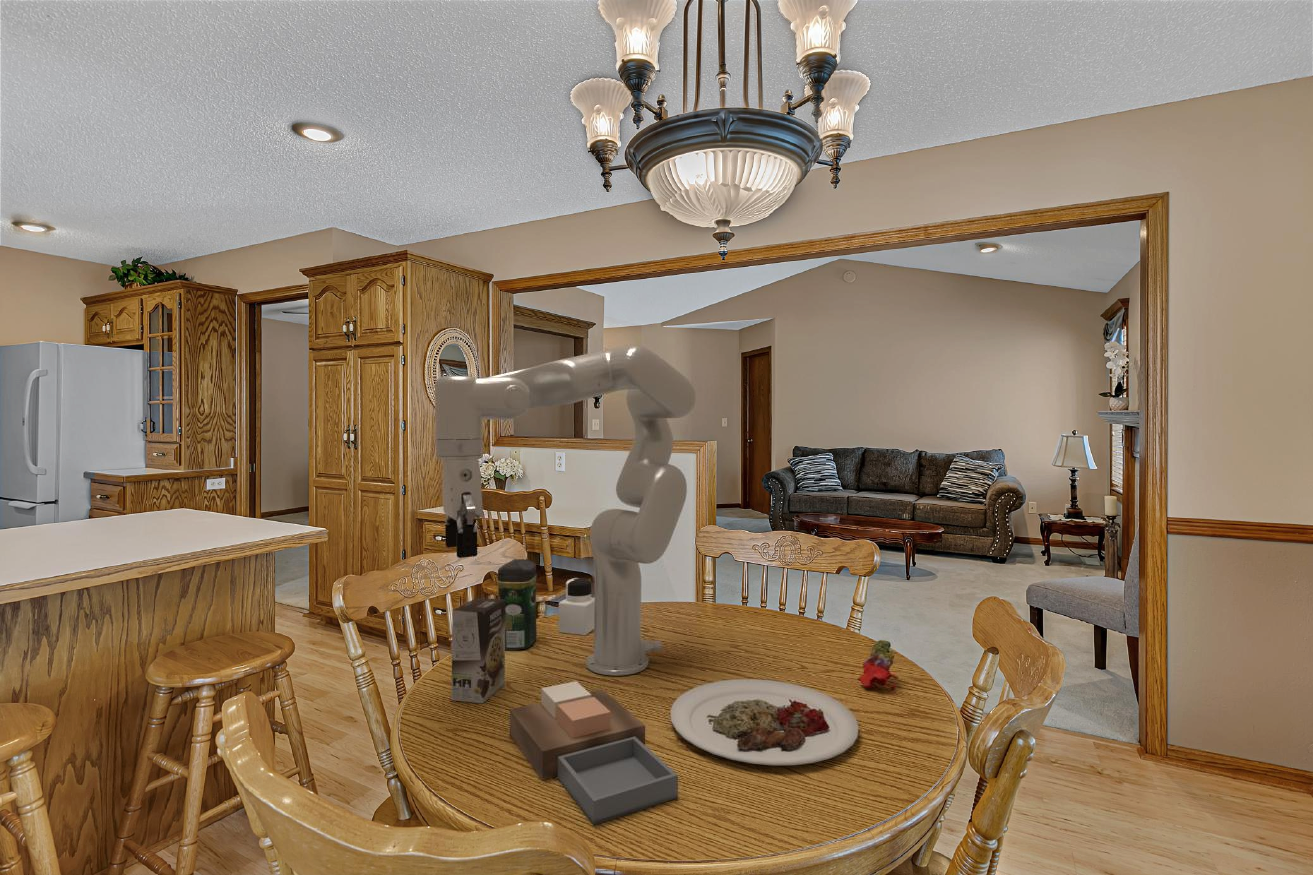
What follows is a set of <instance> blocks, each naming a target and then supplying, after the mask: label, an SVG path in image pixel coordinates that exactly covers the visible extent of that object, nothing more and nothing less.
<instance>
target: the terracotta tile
mask: <svg viewBox="0 0 1313 875" xmlns="http://www.w3.org/2000/svg"><path fill="white" fill-rule="evenodd" d="M557 722H558V723H559V724H560V725H561V726H562V727H563V728H564V729H565V730H566V732H567V733H568V734H569V735H570V736H571V737H572V738H575V737H579V736H583V735H587V734H591V733H595V732H599V731H603V730H607V729H611V712H610V711H609V710H608V709H607V708H606V707H605V706H604V705H602V704H601V703H600V702H599V701H598V700H597V699H596V698H595V697H591V698H586V699H582V700H577V701H573V702H568V703H563V704H559V705H557Z"/></svg>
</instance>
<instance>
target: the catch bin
mask: <svg viewBox="0 0 1313 875" xmlns="http://www.w3.org/2000/svg"><path fill="white" fill-rule="evenodd" d="M557 779H558V781H559V782H560V784H561V785H562V786H563V787H564V789H565V790H566V792H567V793H568V794H569V795H570V796H571V798H572V799H573V801H574V803H576V805H577V806H578V807H579V808H580V810H581V811H582V812H583V814H584V815H585V816H586V818H587V819H588V820H589V821H590V823H591V824H592V826H596V825H600V824H603V823H606V822H609V821H612V820H615V819H618V818H620V817H624V816H626V815H630V814H633V813H636V812H639V811H642V810H645V809H648V808H651V807H654V806H657V805H660V804H663V803H667V802H670V801H672V800H676V799H678V798H679V797H678V796H679V775H678V774H677V773H676V772H675V771H674V770H673V769H672V768H671V767H669V766H668V764H666V763H665V762H664V761H663V760H662V759H661V758H660V757H659V756H658V755H657V754H655V753H654V752H653V751H652V750H650V748H648V746H646V744H645V745H644V744H643V743H642V742H641V741H639V740H638V739H637V738H636V737H631V738H627V739H623V740H619V741H616V742H612V743H608V744H604V745H600V746H597V747H593V748H589V749H585V750H581V751H577V752H574V753H570V754H566V755H562V756H558V776H557Z"/></svg>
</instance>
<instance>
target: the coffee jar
mask: <svg viewBox="0 0 1313 875" xmlns="http://www.w3.org/2000/svg"><path fill="white" fill-rule="evenodd" d="M497 590H498V591H497V593H498V594H497V595H498V597H497V599H504V600H505V650H506V651H518V650H521V649H522V650H523V649H524V650H525V649H528V648H530V647H531V646H532V645H533V644H534V643H535V641H536V639H537V634H538V633H537V632H538V630H537V566H536V563H534V561H532V560H531V559H525V558H524V559H523V558H522V559H520V558H519V559H518V558H514V559H512V560H510V561H509V562H506V563H504V564H503V565H501V566H500V567H499V568H498V569H497Z"/></svg>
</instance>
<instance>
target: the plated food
mask: <svg viewBox="0 0 1313 875" xmlns="http://www.w3.org/2000/svg"><path fill="white" fill-rule="evenodd" d="M669 713H670V720H671V724H672V725H673V728H675V731H676V732H677V733H678V734H679V735H680V736H681V737H682V738H683V739H684V740H686V741H687V742H689V743H691V744H692V745H694V746H695V747H697V748H699V749H701V750H703V751H706V752H708V753H710V754H712V755H716V756H719V757H721V758H726V759H728V760H732V761H737V762H743V763H747V764H754V765H764V766H765V765H766V766H799V765H808V764H814V763H817V762H823V761H825V760H829V759H832V758H835V757H836V756H838V755H842V753H845V752H846V751H847V750H848V749H849V748H851V747H852V746H853V745H854V743H855V742H856V741H857V738H858V736H859V724H858V721H857V718H856V716H854V714H853V713H852V712H851V710H850V709H849V708H847V707H846V706H845V705H844V704H843V703H841V702H840V701H838V700H836V699H835V698H833V697H832V696H829V695H827V694H825V693H823V692H820V691H818V690H816V689H812V688H808V687H806V686H802V685H800V684H794V683H789V682H784V681H777V680H772V679H771V680H770V679H756V678H751V679H750V678H748V679H746V678H741V679H740V678H739V679H728V680H727V679H726V680H725V679H724V680H719V681H714V682H709V683H705V684H703V685H699V686H696V687H693V688H690V690H689V689H688V690H687V691H685V692H684V693H682V694H681V695H680V696H678V697H677V699H675V701H674V702H673V704H672V705H671V709H670V712H669Z"/></svg>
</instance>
